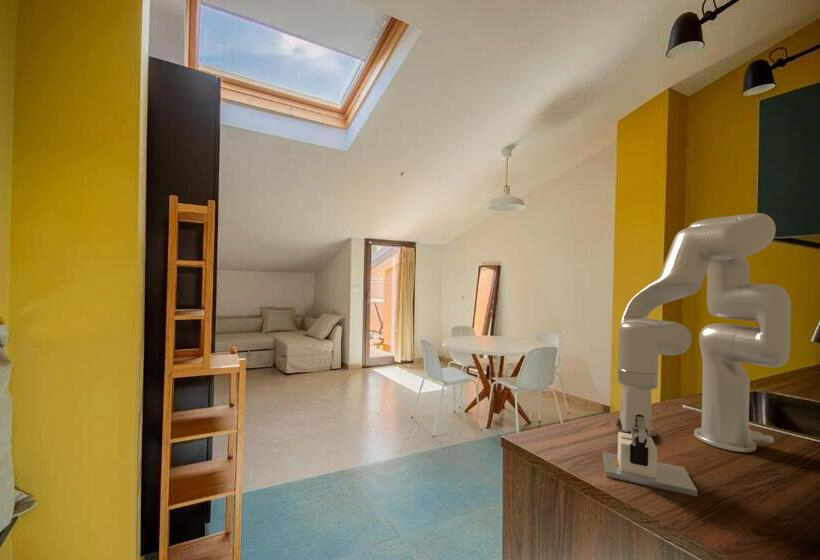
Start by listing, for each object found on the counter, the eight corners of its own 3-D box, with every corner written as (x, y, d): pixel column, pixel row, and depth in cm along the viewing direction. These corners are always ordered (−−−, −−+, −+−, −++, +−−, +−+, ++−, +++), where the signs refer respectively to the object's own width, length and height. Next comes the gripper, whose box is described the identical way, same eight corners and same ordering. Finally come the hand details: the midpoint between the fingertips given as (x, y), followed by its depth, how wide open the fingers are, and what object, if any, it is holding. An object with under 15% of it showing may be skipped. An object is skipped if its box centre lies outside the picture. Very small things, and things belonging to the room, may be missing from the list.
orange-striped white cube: (650, 463, 83) (651, 436, 83) (656, 478, 77) (657, 448, 77) (617, 457, 85) (618, 430, 85) (620, 470, 79) (621, 442, 79)
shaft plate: (683, 472, 81) (684, 453, 81) (697, 496, 72) (697, 475, 72) (603, 456, 88) (603, 439, 88) (606, 476, 79) (606, 457, 79)
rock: (625, 441, 97) (666, 438, 95) (619, 418, 99) (659, 414, 97) (615, 436, 106) (652, 432, 104) (609, 414, 107) (646, 411, 105)
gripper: (614, 367, 90) (612, 435, 90) (622, 385, 75) (620, 468, 75) (650, 370, 87) (648, 441, 87) (665, 391, 71) (663, 477, 72)
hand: (635, 454), depth 81 cm, fingers open, 9 cm apart
